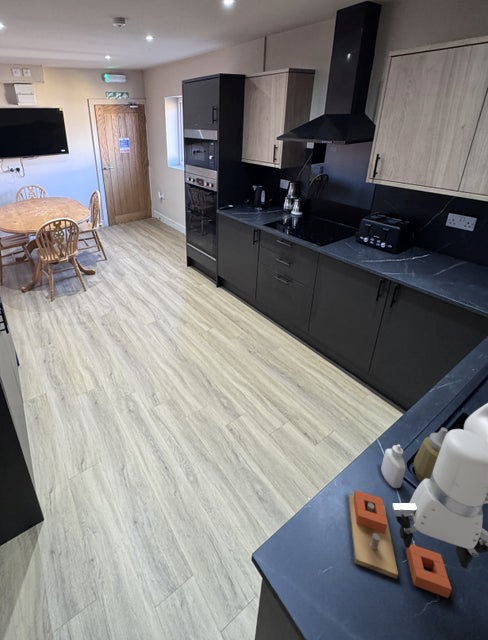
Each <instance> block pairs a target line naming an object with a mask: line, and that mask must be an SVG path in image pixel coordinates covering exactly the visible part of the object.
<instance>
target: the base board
mask: <svg viewBox="0 0 488 640" xmlns="http://www.w3.org/2000/svg"><path fill="white" fill-rule="evenodd" d="M353 497H354V494H350V493H349V494H348V497H347V500H348V511H349V519H350V528H351V529H350V530H351V536H352V538H351V539H352V546H353V556H354V564H356V565H359V566H361V567H363V568H367V569H370V570H372V571H375V572H377V573H380V574H382V575H385V576H388V577H390V578H393V579H398V577H399V570H398V566H397V561H396V556H395V552H394V547H393V546H394V545H393V541H392V537H391V531H390V526H389V521H388V517H387V512H386V506H385V505H384V511H385V516H386V521H387V528H386V532H385V533H382V532H379V531H376V530H373V529H370V528H367V527H364V526H361V525H358V524H356V516H355V508H354V500H353ZM365 510H366V511H369V512H372V513H373V512H374V505H373V504H372V503H370V502H369V503H368V505H367V509H365Z"/></svg>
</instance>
